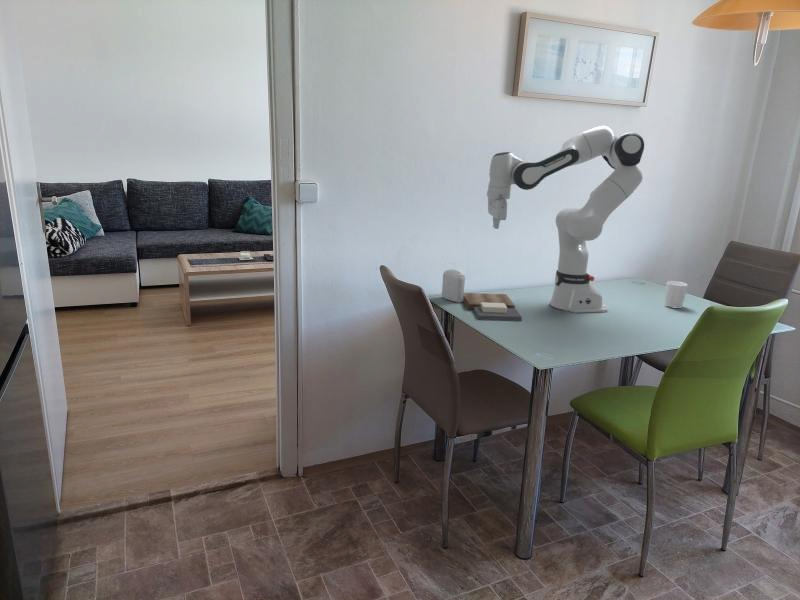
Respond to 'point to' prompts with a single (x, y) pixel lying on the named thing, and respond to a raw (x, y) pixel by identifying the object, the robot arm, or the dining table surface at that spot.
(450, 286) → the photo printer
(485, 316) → the charcoal mat
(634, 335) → the dining table surface
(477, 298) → the walnut deck
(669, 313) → the dining table surface
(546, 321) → the dining table surface
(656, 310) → the dining table surface
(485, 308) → the cream card
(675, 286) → the white cup
